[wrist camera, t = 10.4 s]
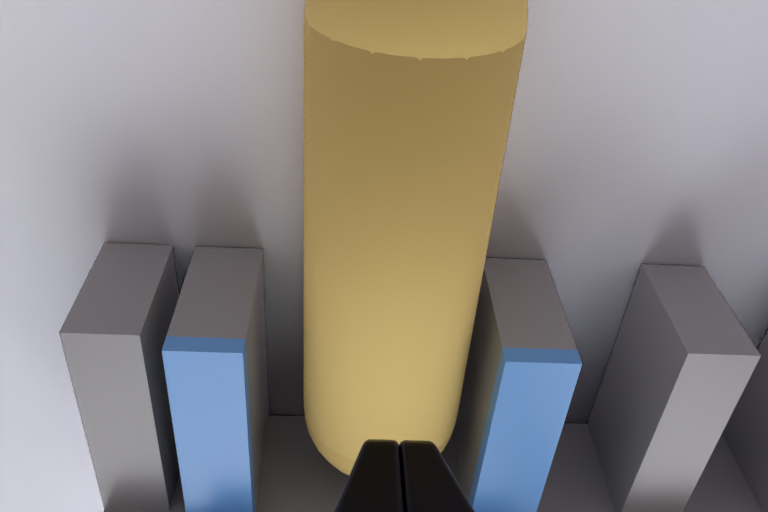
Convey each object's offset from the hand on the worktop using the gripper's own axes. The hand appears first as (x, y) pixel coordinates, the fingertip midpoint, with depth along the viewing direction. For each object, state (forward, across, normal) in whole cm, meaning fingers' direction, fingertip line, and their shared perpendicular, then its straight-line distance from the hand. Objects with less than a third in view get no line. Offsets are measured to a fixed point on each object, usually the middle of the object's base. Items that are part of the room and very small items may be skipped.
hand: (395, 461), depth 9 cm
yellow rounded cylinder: (+8, 0, +1) cm, 8 cm away
